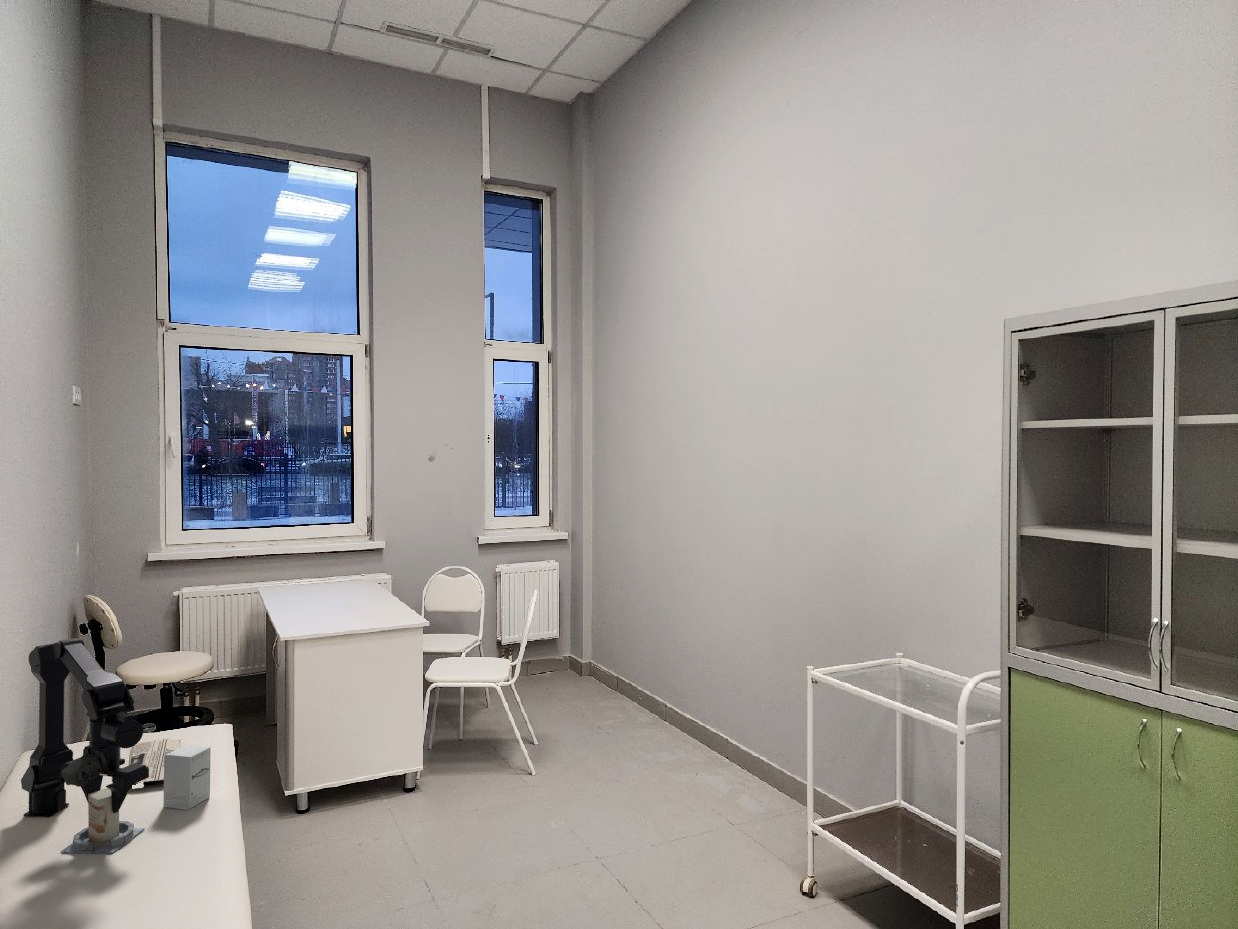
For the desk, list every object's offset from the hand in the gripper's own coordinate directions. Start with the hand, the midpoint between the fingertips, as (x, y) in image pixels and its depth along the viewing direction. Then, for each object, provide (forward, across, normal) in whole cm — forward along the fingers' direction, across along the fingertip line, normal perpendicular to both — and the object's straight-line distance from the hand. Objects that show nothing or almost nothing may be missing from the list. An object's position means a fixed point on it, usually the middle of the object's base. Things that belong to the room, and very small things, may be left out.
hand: (104, 810), depth 173 cm
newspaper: (+7, -25, +37) cm, 45 cm away
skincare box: (+6, 0, 0) cm, 6 cm away
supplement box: (+7, +2, +21) cm, 22 cm away
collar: (+7, 0, 0) cm, 7 cm away
